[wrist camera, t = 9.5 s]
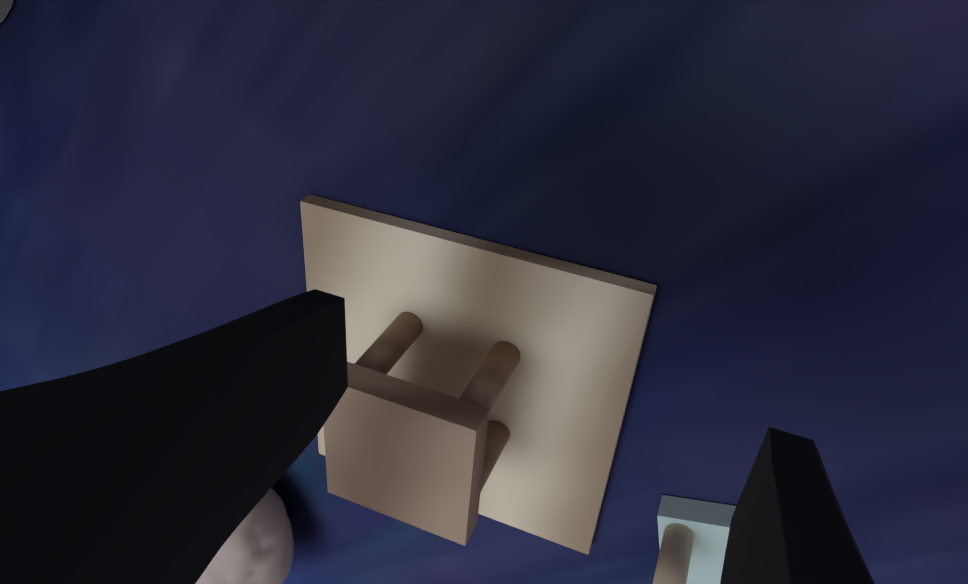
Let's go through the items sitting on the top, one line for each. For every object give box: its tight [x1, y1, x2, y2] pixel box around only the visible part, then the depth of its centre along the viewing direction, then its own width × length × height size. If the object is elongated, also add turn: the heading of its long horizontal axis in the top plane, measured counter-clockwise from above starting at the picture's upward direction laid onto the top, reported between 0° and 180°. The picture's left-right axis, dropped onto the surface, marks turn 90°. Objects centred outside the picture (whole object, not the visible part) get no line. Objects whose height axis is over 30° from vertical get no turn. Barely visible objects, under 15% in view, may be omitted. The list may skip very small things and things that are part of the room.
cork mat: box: [300, 195, 657, 555], centre depth 25 cm, size 12×12×1 cm
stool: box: [323, 312, 520, 546], centre depth 23 cm, size 5×5×4 cm
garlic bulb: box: [196, 488, 294, 584], centre depth 31 cm, size 7×6×8 cm
